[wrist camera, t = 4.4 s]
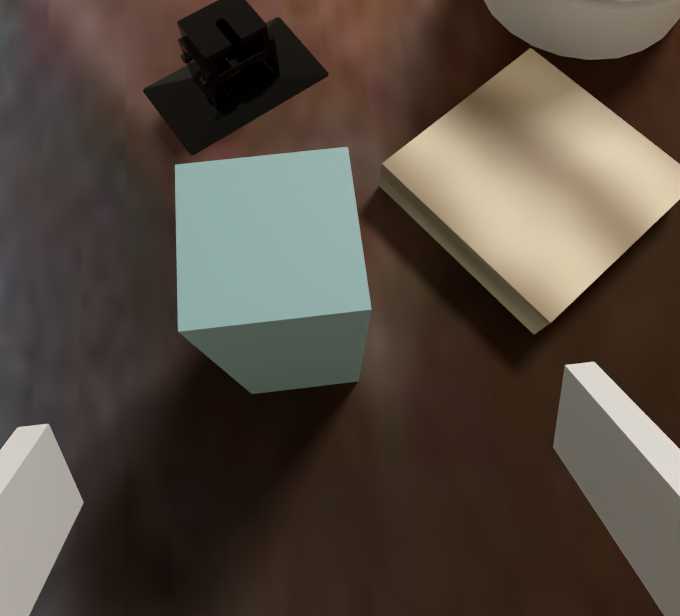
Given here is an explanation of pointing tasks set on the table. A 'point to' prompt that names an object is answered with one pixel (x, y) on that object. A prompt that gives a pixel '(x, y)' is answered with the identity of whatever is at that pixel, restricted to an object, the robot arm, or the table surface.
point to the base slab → (533, 187)
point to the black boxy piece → (230, 73)
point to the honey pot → (587, 24)
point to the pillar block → (273, 268)
